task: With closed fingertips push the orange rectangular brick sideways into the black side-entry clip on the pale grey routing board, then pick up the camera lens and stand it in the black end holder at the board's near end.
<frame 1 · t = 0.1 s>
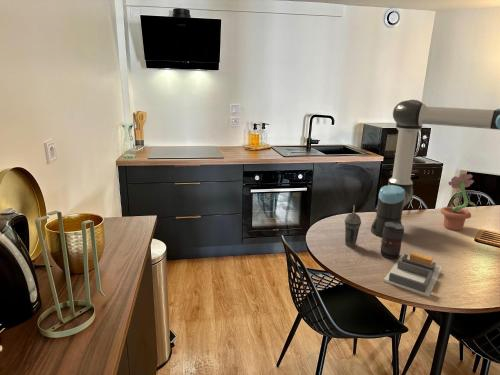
decorative flower: (453, 228, 182), on the table
orange rectangular brick: (420, 262, 144), point 1 cm above the table, touching routing board
beverage cup: (350, 245, 161), on the table
camera lens: (389, 257, 150), on the table
routing board: (413, 275, 136), on the table
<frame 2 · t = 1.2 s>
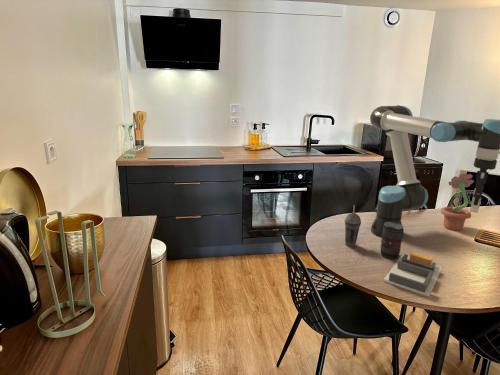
hand: (474, 207, 147), 22 cm above the table, fingers open, 13 cm apart
nothing on the table moved.
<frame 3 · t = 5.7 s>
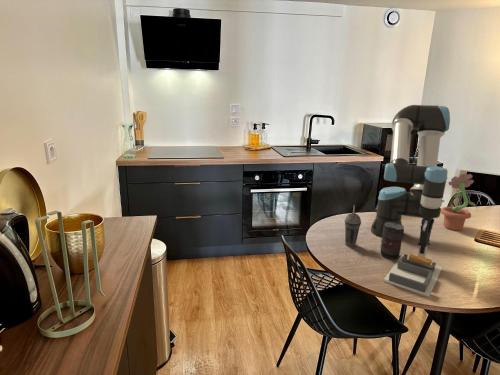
hand: (421, 259, 143), 3 cm above the table, fingers closed
orange rectangular brick: (419, 264, 142), point 1 cm above the table, touching gripper, routing board
everything else where it was.
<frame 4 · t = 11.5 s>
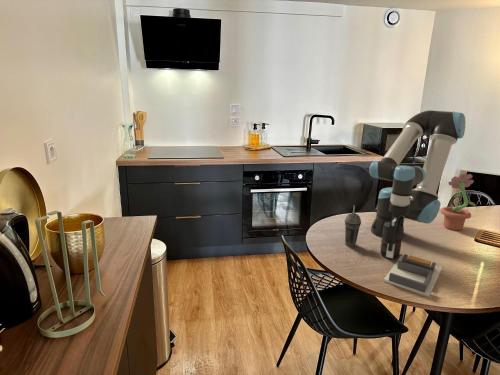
hand: (392, 253, 149), 2 cm above the table, fingers closed on camera lens, 8 cm apart
orange rectangular brick: (418, 266, 141), point 1 cm above the table, touching routing board
camera lens: (389, 257, 150), on the table, touching gripper
everything else where it was.
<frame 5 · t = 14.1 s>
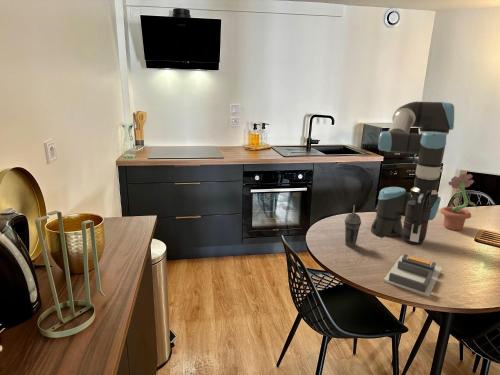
hand: (416, 237, 127), 18 cm above the table, fingers closed on camera lens, 8 cm apart
camera lens: (412, 242, 128), point 16 cm above the table, touching gripper
everything else where it was.
when the fingers open (6 cm above the table, at t = 16.8 s): camera lens drops 3 cm, resting on routing board.
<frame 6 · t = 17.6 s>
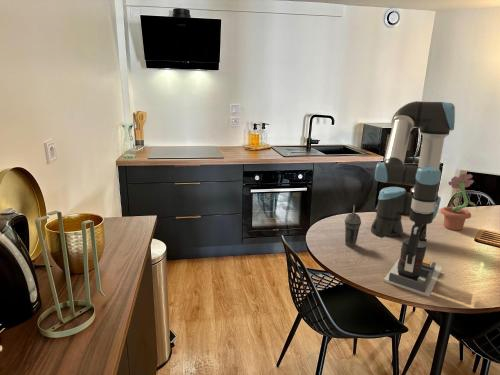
hand: (413, 263, 130), 8 cm above the table, fingers open, 13 cm apart
camera lens: (407, 278, 132), point 1 cm above the table, touching routing board
everything else where it was.
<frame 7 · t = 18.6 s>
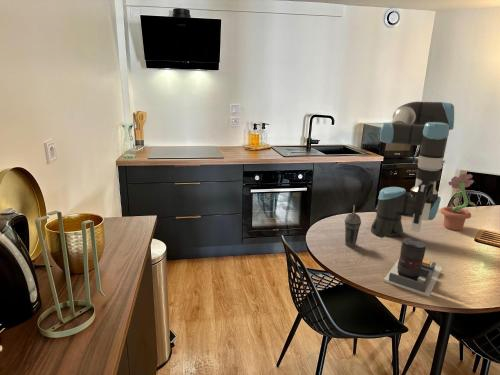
hand: (419, 225, 125), 23 cm above the table, fingers open, 13 cm apart
nothing on the table moved.
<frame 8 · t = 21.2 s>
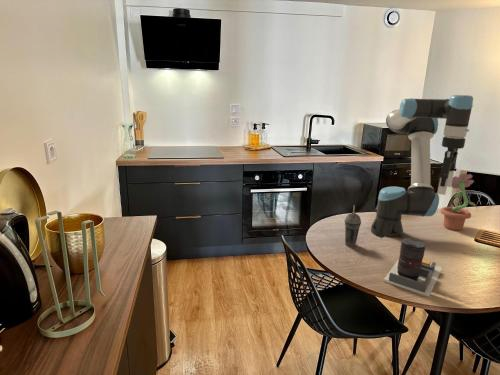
hand: (444, 190, 138), 32 cm above the table, fingers open, 13 cm apart
nothing on the table moved.
at the end: orange rectangular brick 0.7 cm from the target spot on the routing board, point 1.0 cm above the routing board's base; camera lens inside the target area on the routing board (1.0 cm from its centre), point 0.8 cm above the routing board's base; camera lens tilted 0° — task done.
